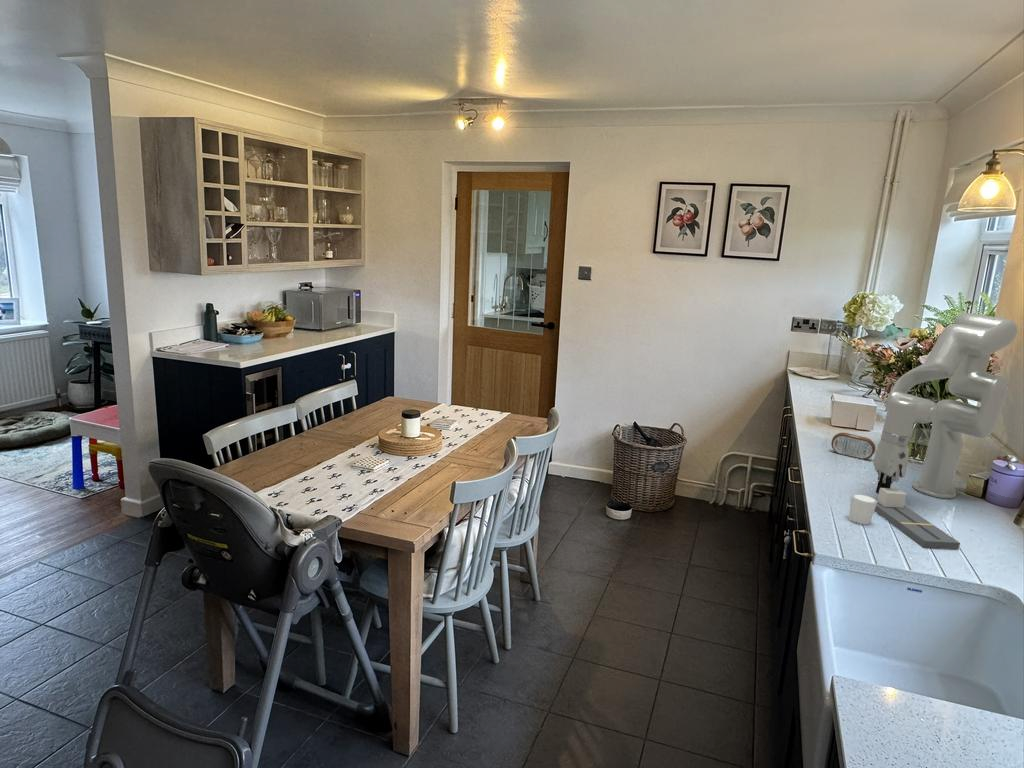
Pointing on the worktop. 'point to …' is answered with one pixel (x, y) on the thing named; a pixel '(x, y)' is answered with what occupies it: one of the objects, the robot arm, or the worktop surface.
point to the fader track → (917, 527)
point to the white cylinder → (862, 508)
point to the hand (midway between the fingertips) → (881, 493)
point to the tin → (853, 446)
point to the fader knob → (891, 497)
